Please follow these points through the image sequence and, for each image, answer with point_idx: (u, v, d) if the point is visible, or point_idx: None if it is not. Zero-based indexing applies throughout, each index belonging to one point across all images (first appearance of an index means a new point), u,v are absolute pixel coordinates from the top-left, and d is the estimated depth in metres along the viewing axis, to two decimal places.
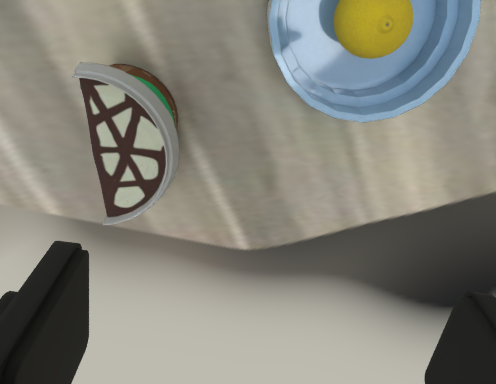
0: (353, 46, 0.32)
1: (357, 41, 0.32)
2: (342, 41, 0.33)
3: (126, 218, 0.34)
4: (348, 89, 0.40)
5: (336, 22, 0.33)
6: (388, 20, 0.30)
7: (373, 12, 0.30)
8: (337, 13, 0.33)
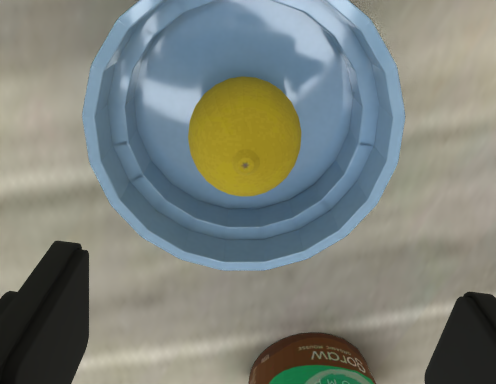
0: (273, 187, 0.21)
1: (265, 190, 0.21)
2: None
3: None
4: (345, 135, 0.27)
5: None
6: (239, 163, 0.19)
7: (225, 176, 0.20)
8: None
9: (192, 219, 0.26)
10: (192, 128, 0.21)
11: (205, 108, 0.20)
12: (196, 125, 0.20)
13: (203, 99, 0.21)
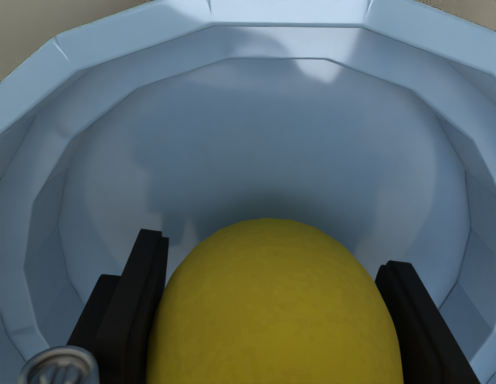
0: None
1: None
2: None
3: None
4: (448, 289, 0.15)
5: None
6: None
7: None
8: None
9: None
10: (150, 374, 0.09)
11: (178, 340, 0.08)
12: (156, 378, 0.08)
13: (178, 296, 0.09)
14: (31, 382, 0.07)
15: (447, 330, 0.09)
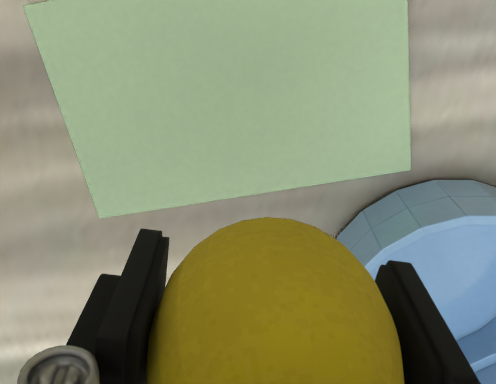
0: None
1: None
2: None
3: None
4: None
5: None
6: None
7: None
8: None
9: None
10: (150, 374, 0.09)
11: (179, 340, 0.08)
12: (157, 379, 0.08)
13: (179, 296, 0.09)
14: (31, 382, 0.07)
15: (447, 330, 0.09)
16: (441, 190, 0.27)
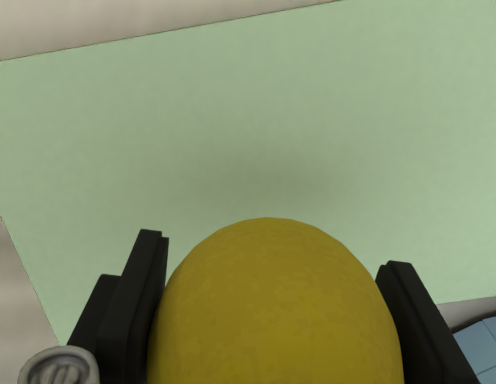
0: None
1: None
2: None
3: None
4: None
5: None
6: None
7: None
8: None
9: None
10: (150, 374, 0.09)
11: (179, 340, 0.08)
12: (156, 378, 0.08)
13: (178, 296, 0.09)
14: (31, 382, 0.07)
15: (447, 330, 0.09)
16: None
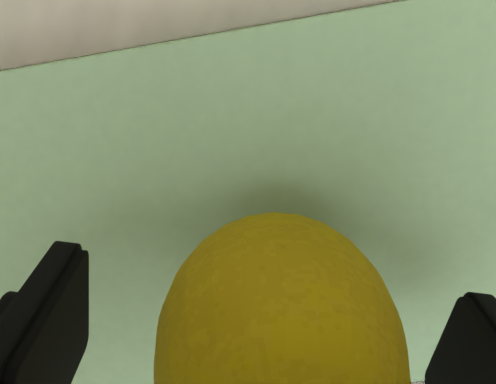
0: None
1: None
2: None
3: None
4: None
5: None
6: None
7: None
8: None
9: None
10: (159, 365, 0.09)
11: (188, 331, 0.08)
12: (166, 369, 0.08)
13: (187, 289, 0.09)
14: None
15: None
16: None
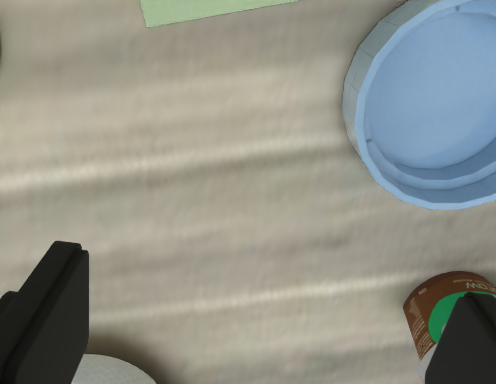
0: None
1: None
2: None
3: None
4: None
5: None
6: None
7: None
8: None
9: (400, 173, 0.35)
10: None
11: None
12: None
13: None
14: None
15: None
16: None
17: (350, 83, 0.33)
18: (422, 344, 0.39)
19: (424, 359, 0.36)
